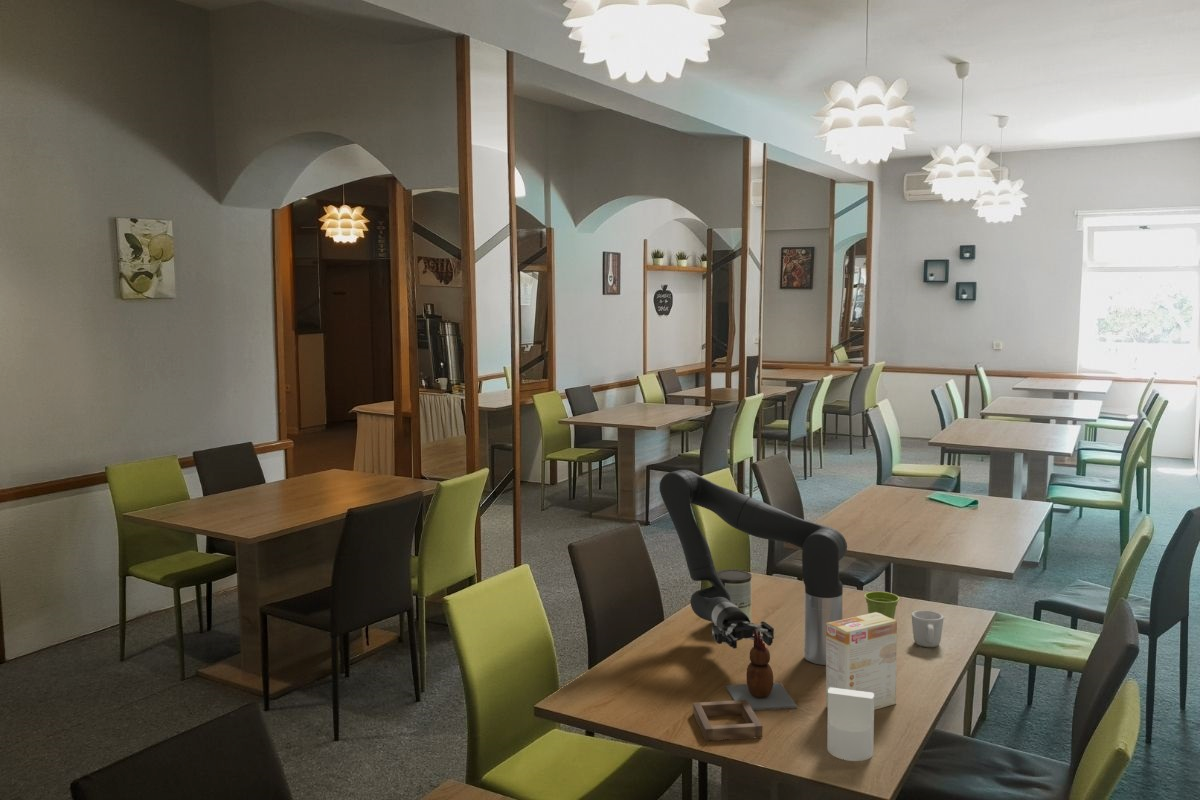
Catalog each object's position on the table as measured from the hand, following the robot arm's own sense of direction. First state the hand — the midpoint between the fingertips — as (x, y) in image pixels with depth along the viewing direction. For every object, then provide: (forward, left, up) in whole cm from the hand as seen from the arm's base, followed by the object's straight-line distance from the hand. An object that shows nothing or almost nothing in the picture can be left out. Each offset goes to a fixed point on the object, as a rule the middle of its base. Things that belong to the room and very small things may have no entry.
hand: (752, 643), depth 215 cm
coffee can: (-6, -46, -11) cm, 47 cm away
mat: (0, +5, -11) cm, 12 cm away
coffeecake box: (-21, +12, -11) cm, 27 cm away
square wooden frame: (+11, +18, -11) cm, 24 cm away
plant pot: (-46, -37, -11) cm, 60 cm away
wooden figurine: (0, +5, -11) cm, 12 cm away
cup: (-52, -21, -11) cm, 57 cm away
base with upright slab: (-11, +32, -11) cm, 36 cm away
